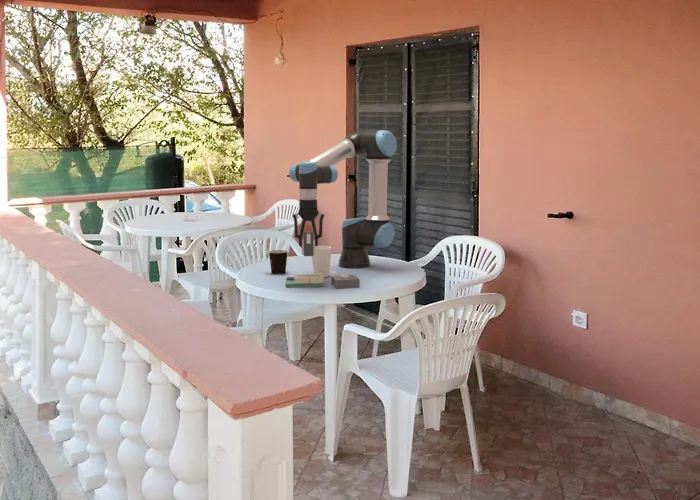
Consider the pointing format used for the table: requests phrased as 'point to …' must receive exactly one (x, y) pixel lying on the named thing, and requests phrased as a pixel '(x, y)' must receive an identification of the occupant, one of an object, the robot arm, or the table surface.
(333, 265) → the table surface
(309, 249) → the plug
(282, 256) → the coffee mug
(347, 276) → the dark grey box
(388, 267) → the table surface
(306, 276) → the socket
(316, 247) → the foam cup
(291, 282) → the board
